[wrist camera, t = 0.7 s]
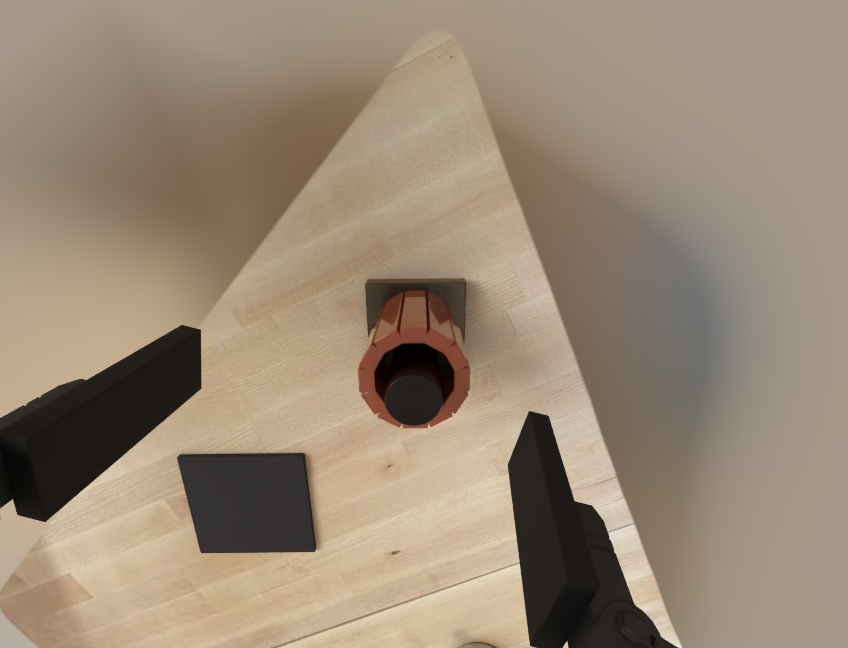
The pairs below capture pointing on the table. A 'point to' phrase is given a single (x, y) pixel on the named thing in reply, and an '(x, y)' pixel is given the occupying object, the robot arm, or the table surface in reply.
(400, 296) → the sleeve ring
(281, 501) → the mat
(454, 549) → the table surface
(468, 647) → the cup
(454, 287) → the post stand
